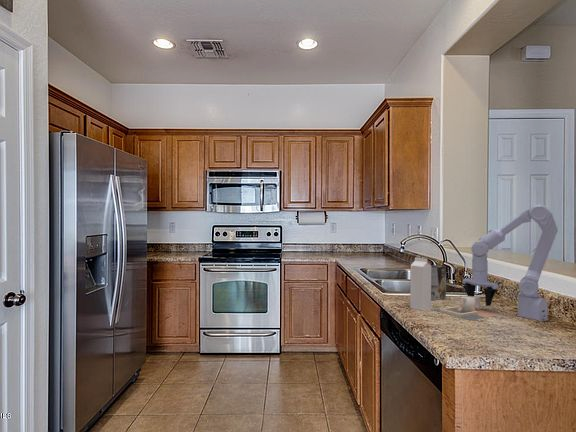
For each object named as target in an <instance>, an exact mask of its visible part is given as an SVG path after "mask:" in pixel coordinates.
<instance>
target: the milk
mask: <svg viewBox="0 0 576 432" xmlns="http://www.w3.org/2000/svg"><path fill="white" fill-rule="evenodd" d="M409 285H410V295H409V296H410V298H409V299H410V303H409V305H410V309H414V310H416V311H417V310H418V311H422V312H423V311H428V310H432V301H431V264H430V263H429V262H428V258H425V257H414V261H413V262H412V263H411V264H410V284H409Z"/></svg>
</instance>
